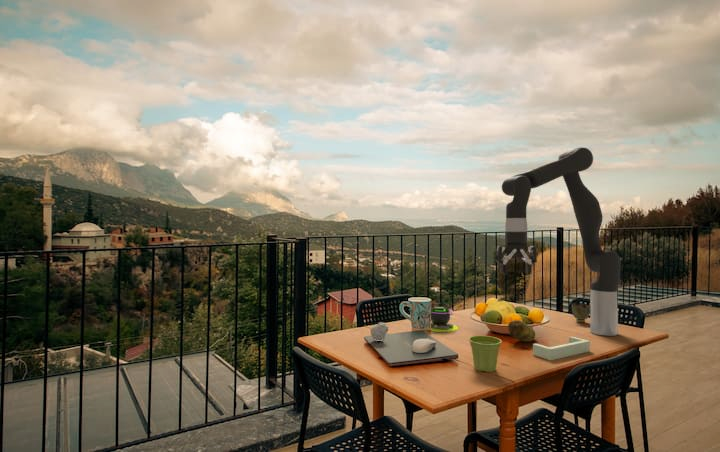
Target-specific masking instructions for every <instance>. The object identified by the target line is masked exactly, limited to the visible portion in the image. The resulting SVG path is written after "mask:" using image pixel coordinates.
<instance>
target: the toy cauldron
mask: <svg viewBox="0 0 720 452" xmlns="http://www.w3.org/2000/svg"><path fill="white" fill-rule="evenodd" d="M437 304H440V303H438V302H436V303H435V305H437ZM445 304H446V303H445ZM446 305H447V306H446V308H445V307H444V306H441V307H437V306H434V307H431V308H432V313H431V320H430V323H431V331H432V332H437V333H448V332H454V331H457V330H458V328H459V327H458V326H457V325H455V324H452V323H449V322H450V320H451V316H453V315H454V314H453V313H454V310H452V309H450V308H447V307H449V305H448V304H446ZM431 331H430V332H431Z"/></svg>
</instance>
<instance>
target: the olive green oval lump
mask: <svg viewBox="0 0 720 452" xmlns="http://www.w3.org/2000/svg"><path fill="white" fill-rule="evenodd" d="M507 328H508V333H509V336H510V337H513V338H514V339H515V340H516V339H517V340H518V341H519V340H520V341H521V342H525V343H529V342H533V341H534V340H535V338H536V332H535V330H534V328H532V327H531V326H529V325H528V324H526V322H524V321H522V320H517V319H515V320H512V321H510V322H509V323H508V324H507Z"/></svg>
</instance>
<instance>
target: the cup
mask: <svg viewBox="0 0 720 452" xmlns="http://www.w3.org/2000/svg"><path fill="white" fill-rule="evenodd" d="M571 311H572V315H573V317H574V318H575V319H576V320H575V321H576V322H577V323H579V322H580V324H585V323H586V320H587V319H588V318H589V316H590V304H586V303H581V302H580V303H578V304H577V303H573V302H572V303H571Z"/></svg>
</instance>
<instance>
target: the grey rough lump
mask: <svg viewBox="0 0 720 452" xmlns="http://www.w3.org/2000/svg"><path fill="white" fill-rule="evenodd" d="M369 330H370V335H371V338H372V339H373V340H374V339H376V340H382V339H385V338H386V335H387V333H388V331H389V326H388V325H387V324H386V322H381V321H380V322H378V323H377V324H376V325H373V326H372V327H371V328H370V329H369Z"/></svg>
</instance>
